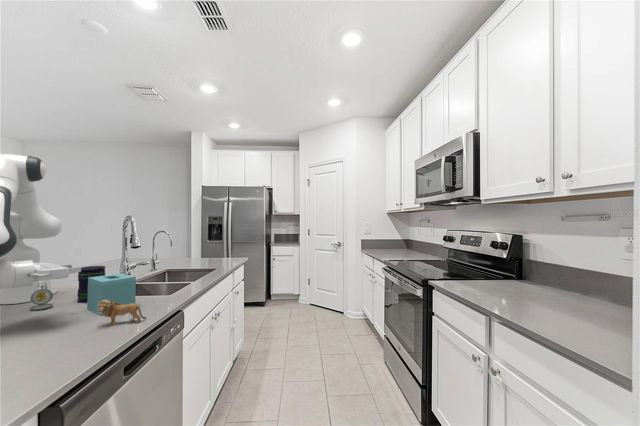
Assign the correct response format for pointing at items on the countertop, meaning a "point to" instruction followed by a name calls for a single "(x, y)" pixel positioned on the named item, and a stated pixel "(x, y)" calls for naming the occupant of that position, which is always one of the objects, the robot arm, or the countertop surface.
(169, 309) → the countertop surface
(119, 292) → the money box
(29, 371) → the countertop surface
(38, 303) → the pocket watch
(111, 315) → the lion figurine
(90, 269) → the storage jar
